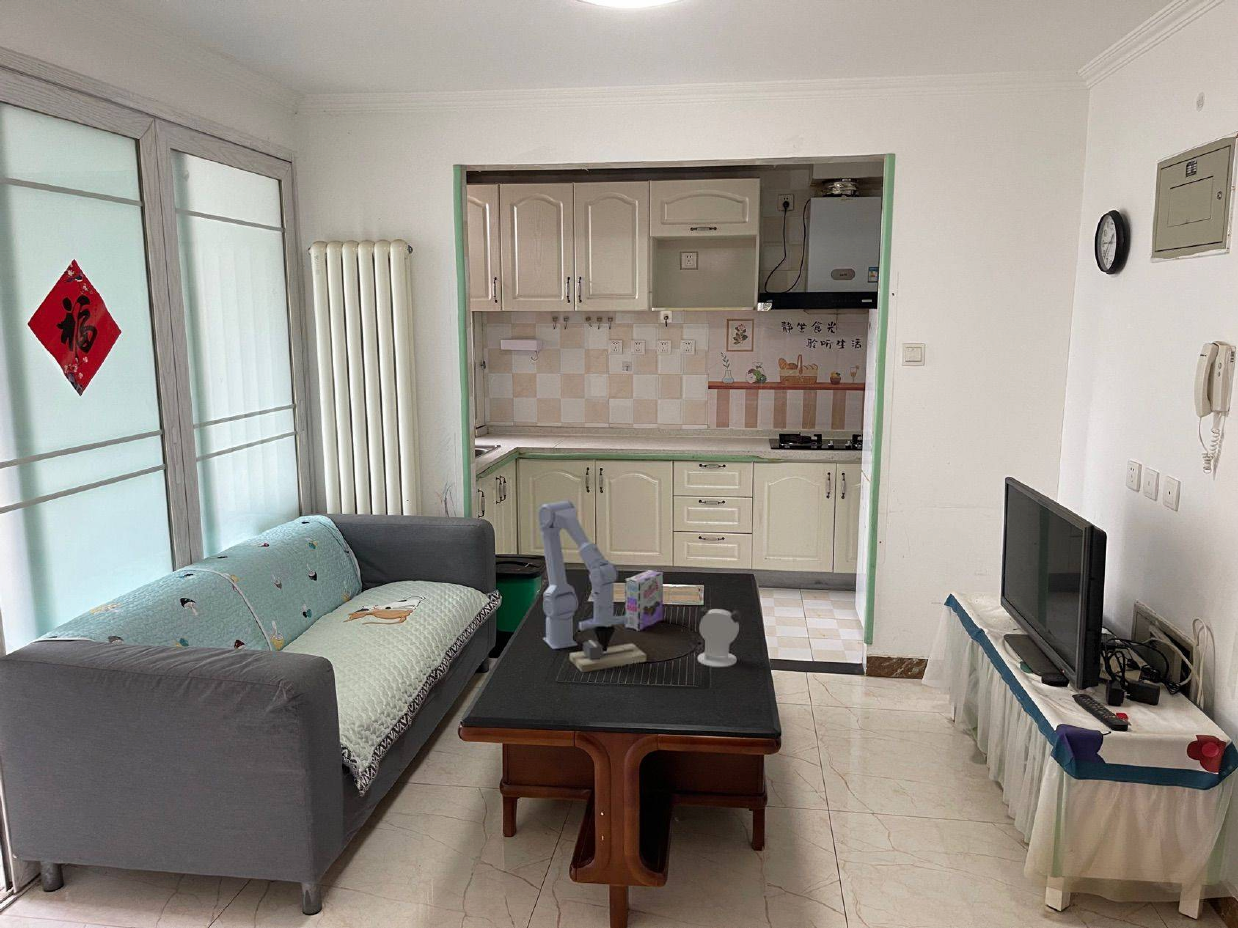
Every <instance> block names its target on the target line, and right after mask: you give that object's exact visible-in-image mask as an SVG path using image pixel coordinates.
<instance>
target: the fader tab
mask: <svg viewBox="0 0 1238 928" xmlns="http://www.w3.org/2000/svg"><path fill="white" fill-rule="evenodd" d="M582 644H583V645H582V651H583V653H584V654H585V655H586V656H587V657H588V658H589V659H593V658H599V657H603V646H602V645H601V644H600V643H599V641H597V640H592V639H589V640H588V641H583V643H582Z"/></svg>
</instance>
